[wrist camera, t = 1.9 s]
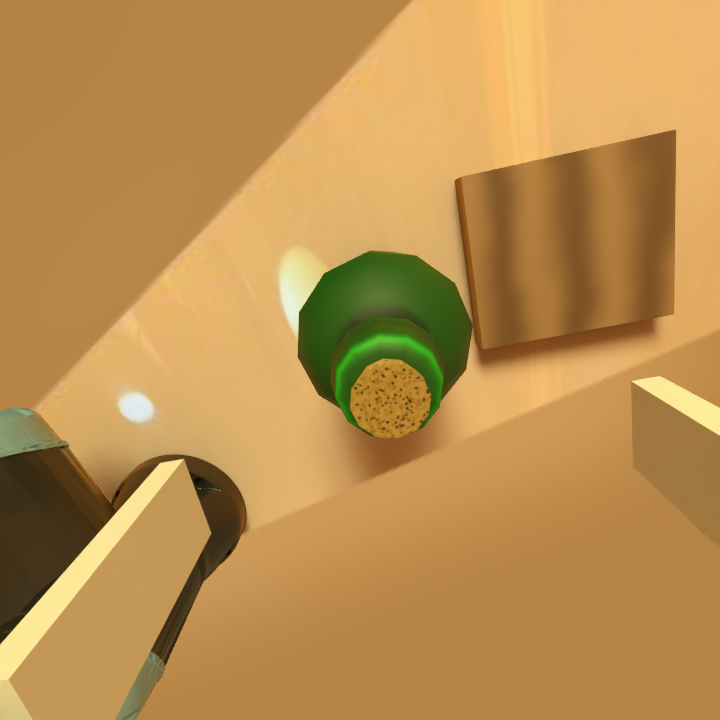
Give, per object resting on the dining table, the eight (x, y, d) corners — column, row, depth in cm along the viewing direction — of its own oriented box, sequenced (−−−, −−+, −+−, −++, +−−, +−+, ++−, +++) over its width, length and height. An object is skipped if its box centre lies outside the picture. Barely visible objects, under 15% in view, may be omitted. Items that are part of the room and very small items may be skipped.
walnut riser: (475, 341, 45) (482, 349, 42) (454, 180, 41) (461, 176, 38) (654, 308, 44) (674, 314, 41) (653, 136, 39) (675, 129, 36)
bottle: (372, 363, 46) (374, 555, 20) (304, 287, 44) (201, 387, 17) (452, 298, 44) (579, 416, 17) (385, 215, 42) (410, 201, 15)
